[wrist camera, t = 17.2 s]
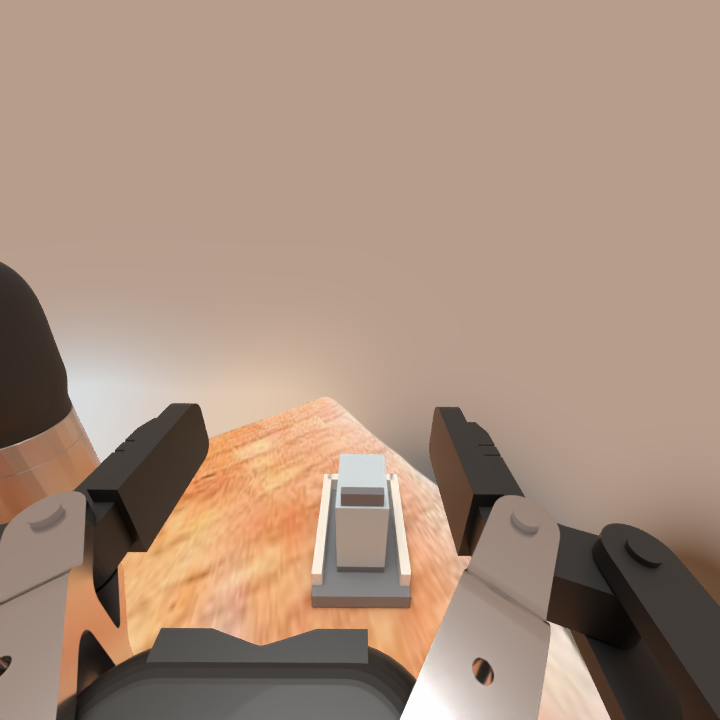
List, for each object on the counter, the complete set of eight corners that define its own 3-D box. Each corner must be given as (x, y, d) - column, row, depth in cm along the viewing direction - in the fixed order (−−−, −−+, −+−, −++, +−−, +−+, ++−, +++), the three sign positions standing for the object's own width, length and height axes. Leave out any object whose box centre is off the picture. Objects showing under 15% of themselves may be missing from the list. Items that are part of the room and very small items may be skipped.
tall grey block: (337, 572, 33) (334, 495, 27) (341, 513, 39) (340, 442, 34) (384, 572, 33) (390, 496, 27) (380, 514, 39) (384, 443, 34)
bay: (312, 585, 31) (311, 573, 30) (325, 484, 43) (324, 473, 42) (409, 585, 31) (411, 574, 31) (395, 484, 43) (396, 474, 42)
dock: (312, 607, 31) (311, 596, 30) (325, 494, 44) (325, 484, 43) (409, 607, 31) (410, 596, 31) (394, 494, 44) (395, 484, 43)
